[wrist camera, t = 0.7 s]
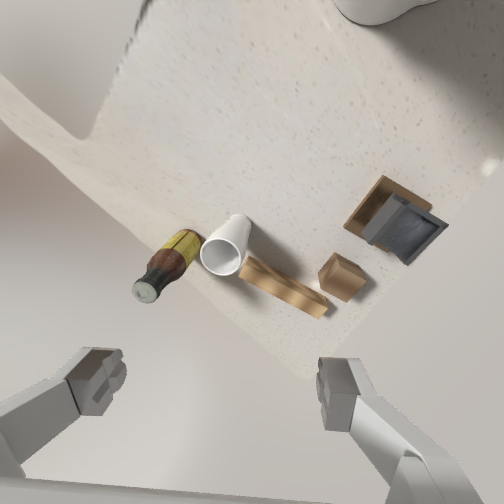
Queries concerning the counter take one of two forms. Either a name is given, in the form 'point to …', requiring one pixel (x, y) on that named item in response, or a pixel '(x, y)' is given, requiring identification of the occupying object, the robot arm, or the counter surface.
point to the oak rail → (283, 287)
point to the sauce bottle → (167, 265)
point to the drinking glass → (227, 246)
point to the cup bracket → (395, 220)
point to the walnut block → (341, 277)
